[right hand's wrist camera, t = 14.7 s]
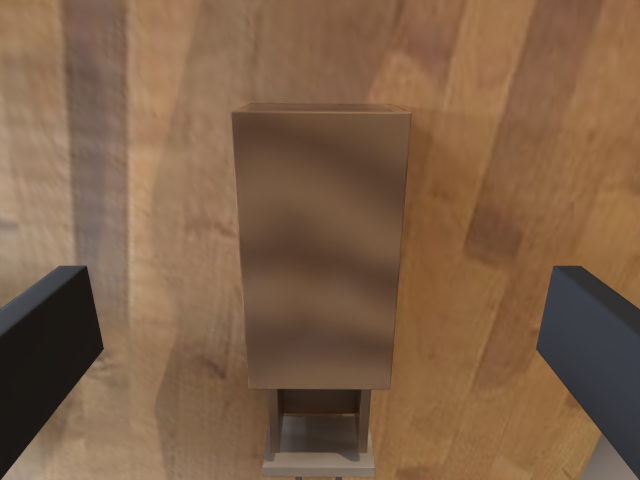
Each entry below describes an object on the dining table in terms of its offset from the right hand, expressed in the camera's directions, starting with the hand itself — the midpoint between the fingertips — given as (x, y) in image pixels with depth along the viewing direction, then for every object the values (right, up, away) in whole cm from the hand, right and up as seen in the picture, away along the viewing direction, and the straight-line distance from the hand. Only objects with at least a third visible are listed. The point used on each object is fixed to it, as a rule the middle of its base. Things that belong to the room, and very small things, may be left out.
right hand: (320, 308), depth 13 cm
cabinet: (0, +3, +26) cm, 26 cm away
